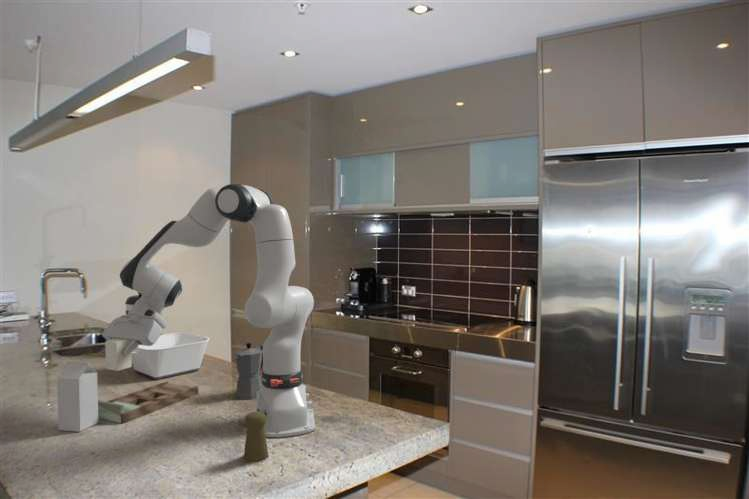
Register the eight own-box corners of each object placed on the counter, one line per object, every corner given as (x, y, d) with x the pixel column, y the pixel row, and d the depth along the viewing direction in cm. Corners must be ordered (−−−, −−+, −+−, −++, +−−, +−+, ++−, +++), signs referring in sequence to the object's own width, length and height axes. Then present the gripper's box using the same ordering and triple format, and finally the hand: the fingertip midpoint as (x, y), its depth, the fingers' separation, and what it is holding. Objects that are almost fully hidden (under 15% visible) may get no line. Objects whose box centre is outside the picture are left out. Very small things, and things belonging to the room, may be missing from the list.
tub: (139, 388, 183) (139, 352, 183) (109, 374, 201) (109, 342, 200) (223, 369, 208) (222, 338, 208) (189, 358, 226) (189, 330, 226)
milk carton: (80, 432, 142) (78, 364, 141) (58, 430, 143) (56, 363, 143) (98, 423, 149) (97, 358, 148) (77, 421, 150) (76, 357, 150)
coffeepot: (248, 403, 166) (248, 348, 165) (225, 399, 169) (224, 345, 169) (275, 389, 180) (275, 339, 179) (253, 386, 184) (253, 337, 183)
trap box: (166, 388, 182) (166, 374, 182) (198, 393, 176) (198, 379, 175) (88, 416, 155) (88, 399, 154) (123, 423, 148) (122, 406, 148)
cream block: (120, 365, 159) (119, 338, 159) (131, 366, 157) (131, 339, 156) (105, 369, 154) (105, 341, 154) (117, 370, 152) (116, 342, 152)
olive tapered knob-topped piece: (270, 451, 128) (269, 408, 128) (266, 462, 122) (265, 417, 122) (246, 452, 128) (245, 409, 128) (240, 463, 122) (240, 417, 122)
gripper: (114, 309, 166) (86, 345, 157) (160, 312, 157) (133, 351, 148) (126, 320, 170) (100, 356, 161) (171, 324, 161) (146, 362, 153)
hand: (116, 353), depth 155 cm, fingers closed on cream block, 5 cm apart
